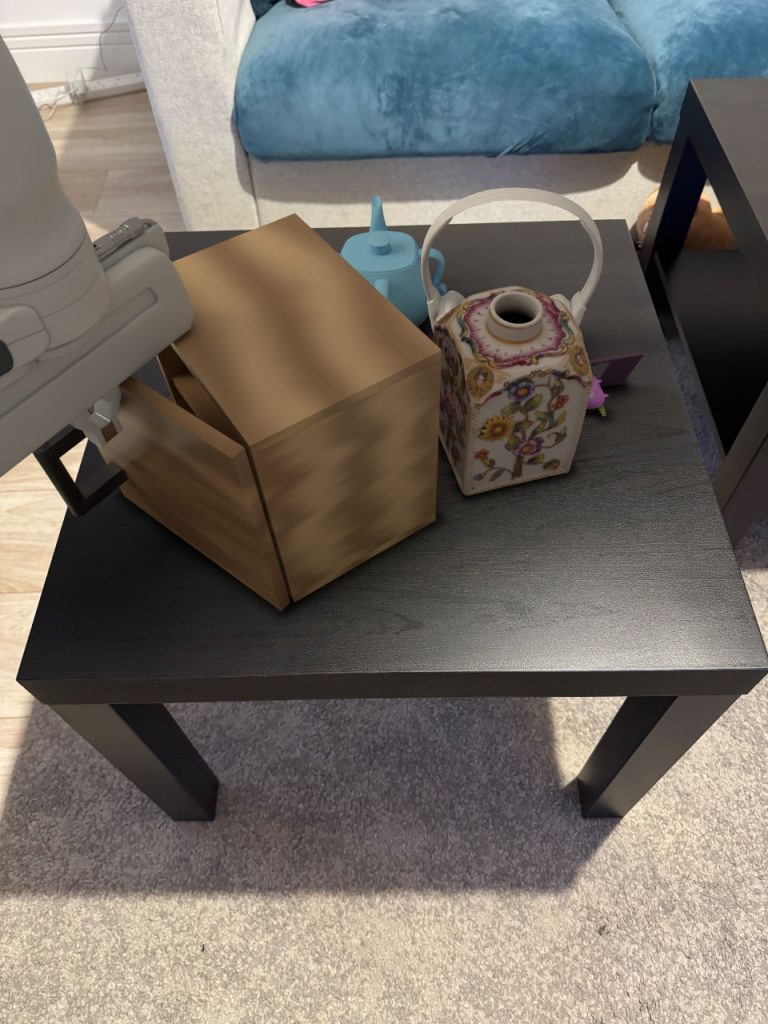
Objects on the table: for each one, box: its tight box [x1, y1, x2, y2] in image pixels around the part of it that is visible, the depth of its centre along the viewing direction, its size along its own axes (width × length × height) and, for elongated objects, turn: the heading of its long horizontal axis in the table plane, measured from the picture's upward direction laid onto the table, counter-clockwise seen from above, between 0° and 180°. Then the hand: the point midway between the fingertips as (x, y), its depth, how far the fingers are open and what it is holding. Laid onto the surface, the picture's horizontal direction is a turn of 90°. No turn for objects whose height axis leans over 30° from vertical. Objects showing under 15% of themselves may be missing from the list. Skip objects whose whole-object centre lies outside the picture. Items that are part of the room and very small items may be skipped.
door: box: [32, 375, 291, 612], centre depth 61 cm, size 7×22×22 cm, turn 52°
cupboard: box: [155, 212, 442, 603], centre depth 66 cm, size 16×22×22 cm
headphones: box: [421, 187, 604, 334], centre depth 77 cm, size 7×18×20 cm, turn 84°
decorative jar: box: [432, 285, 594, 496], centre depth 70 cm, size 12×12×18 cm
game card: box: [586, 351, 645, 417], centre depth 78 cm, size 7×5×9 cm
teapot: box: [337, 194, 448, 328], centre depth 86 cm, size 13×14×11 cm
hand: (106, 435), depth 56 cm, fingers closed
